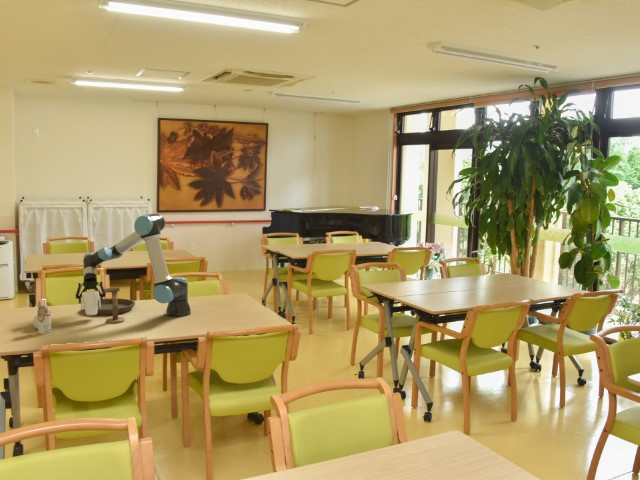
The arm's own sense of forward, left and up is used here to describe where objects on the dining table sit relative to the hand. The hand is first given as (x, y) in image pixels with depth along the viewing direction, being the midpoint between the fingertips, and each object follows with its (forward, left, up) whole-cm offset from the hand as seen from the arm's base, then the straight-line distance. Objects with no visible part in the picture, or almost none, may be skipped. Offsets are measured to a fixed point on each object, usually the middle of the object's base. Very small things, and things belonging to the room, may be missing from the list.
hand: (90, 307), depth 347 cm
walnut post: (-9, -11, -8) cm, 17 cm away
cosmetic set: (0, +27, -9) cm, 28 cm away
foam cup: (+3, -1, -5) cm, 6 cm away
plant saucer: (+20, -18, -9) cm, 28 cm away
